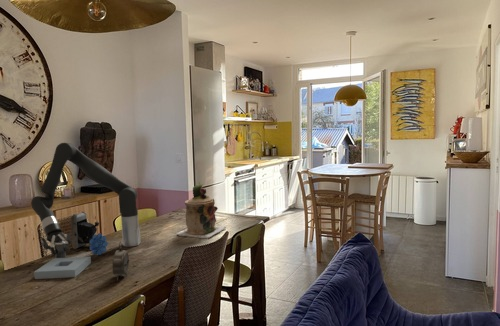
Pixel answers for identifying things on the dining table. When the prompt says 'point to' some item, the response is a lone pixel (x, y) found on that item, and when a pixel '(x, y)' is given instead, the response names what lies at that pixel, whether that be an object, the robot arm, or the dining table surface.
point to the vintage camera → (81, 230)
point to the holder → (62, 267)
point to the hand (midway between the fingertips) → (61, 252)
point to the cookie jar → (200, 215)
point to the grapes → (98, 244)
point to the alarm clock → (120, 262)
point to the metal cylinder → (60, 249)
